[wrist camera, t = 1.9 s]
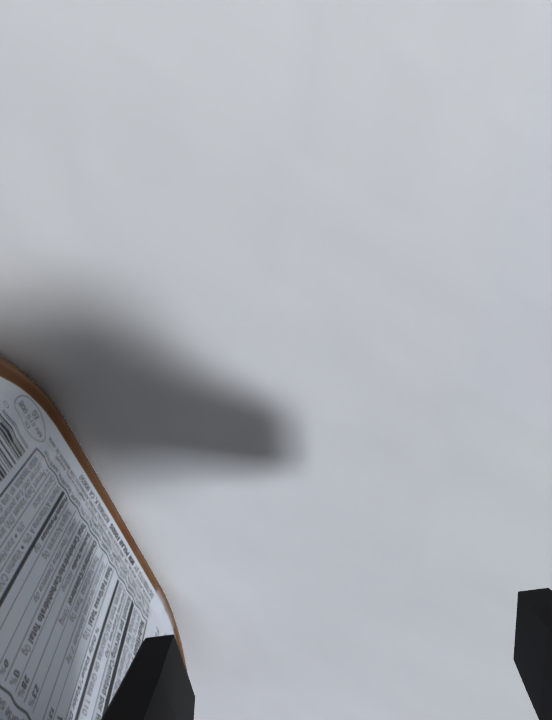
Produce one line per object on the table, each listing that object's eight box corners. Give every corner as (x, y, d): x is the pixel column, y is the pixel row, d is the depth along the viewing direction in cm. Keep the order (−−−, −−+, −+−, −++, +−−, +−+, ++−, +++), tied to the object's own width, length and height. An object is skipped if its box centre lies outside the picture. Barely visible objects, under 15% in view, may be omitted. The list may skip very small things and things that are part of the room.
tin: (-89, 321, 12) (-690, 565, 5) (14, 285, 12) (-445, 479, 4) (143, 670, 18) (48, 1055, 10) (218, 650, 17) (181, 1032, 10)
